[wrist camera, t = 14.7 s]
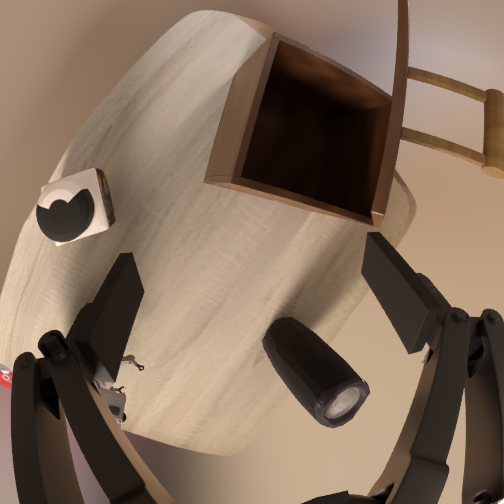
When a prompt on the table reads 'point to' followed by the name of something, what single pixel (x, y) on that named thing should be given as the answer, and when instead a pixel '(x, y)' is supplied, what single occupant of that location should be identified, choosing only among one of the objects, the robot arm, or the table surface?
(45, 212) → the medicine bottle
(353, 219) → the chest
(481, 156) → the chest lid
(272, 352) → the portable speaker
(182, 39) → the table surface
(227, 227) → the table surface
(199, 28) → the table surface
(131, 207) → the table surface
